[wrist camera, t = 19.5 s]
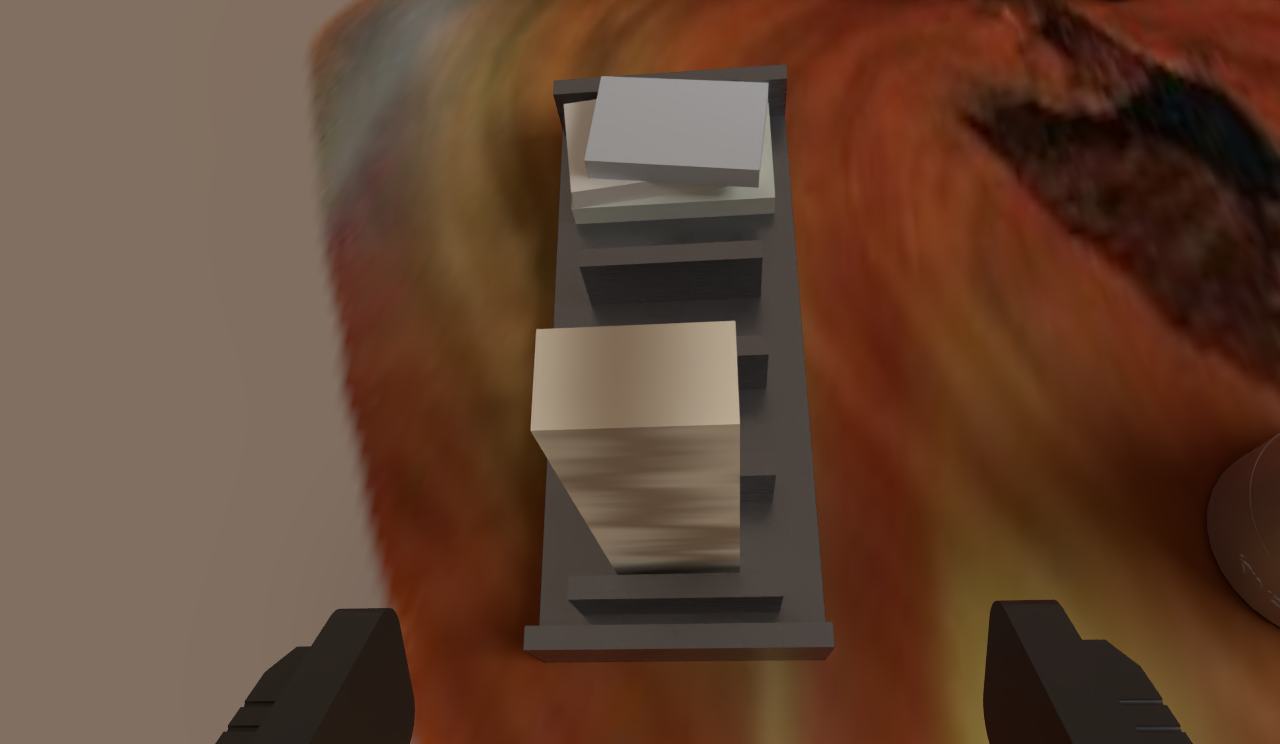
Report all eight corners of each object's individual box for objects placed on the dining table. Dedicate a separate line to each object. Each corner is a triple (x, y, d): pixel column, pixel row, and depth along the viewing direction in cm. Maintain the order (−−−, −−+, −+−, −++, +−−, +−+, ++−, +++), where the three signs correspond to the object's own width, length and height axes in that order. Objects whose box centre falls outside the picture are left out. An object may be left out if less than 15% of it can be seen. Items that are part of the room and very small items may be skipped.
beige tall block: (737, 515, 43) (735, 320, 24) (739, 578, 41) (739, 424, 23) (621, 517, 43) (536, 329, 25) (621, 580, 42) (530, 430, 24)
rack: (782, 118, 54) (787, 51, 49) (825, 659, 41) (837, 643, 36) (567, 132, 55) (550, 67, 50) (544, 662, 42) (518, 647, 37)
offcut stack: (767, 111, 52) (769, 55, 48) (774, 219, 49) (777, 168, 45) (573, 124, 53) (559, 70, 49) (568, 230, 50) (553, 182, 46)
